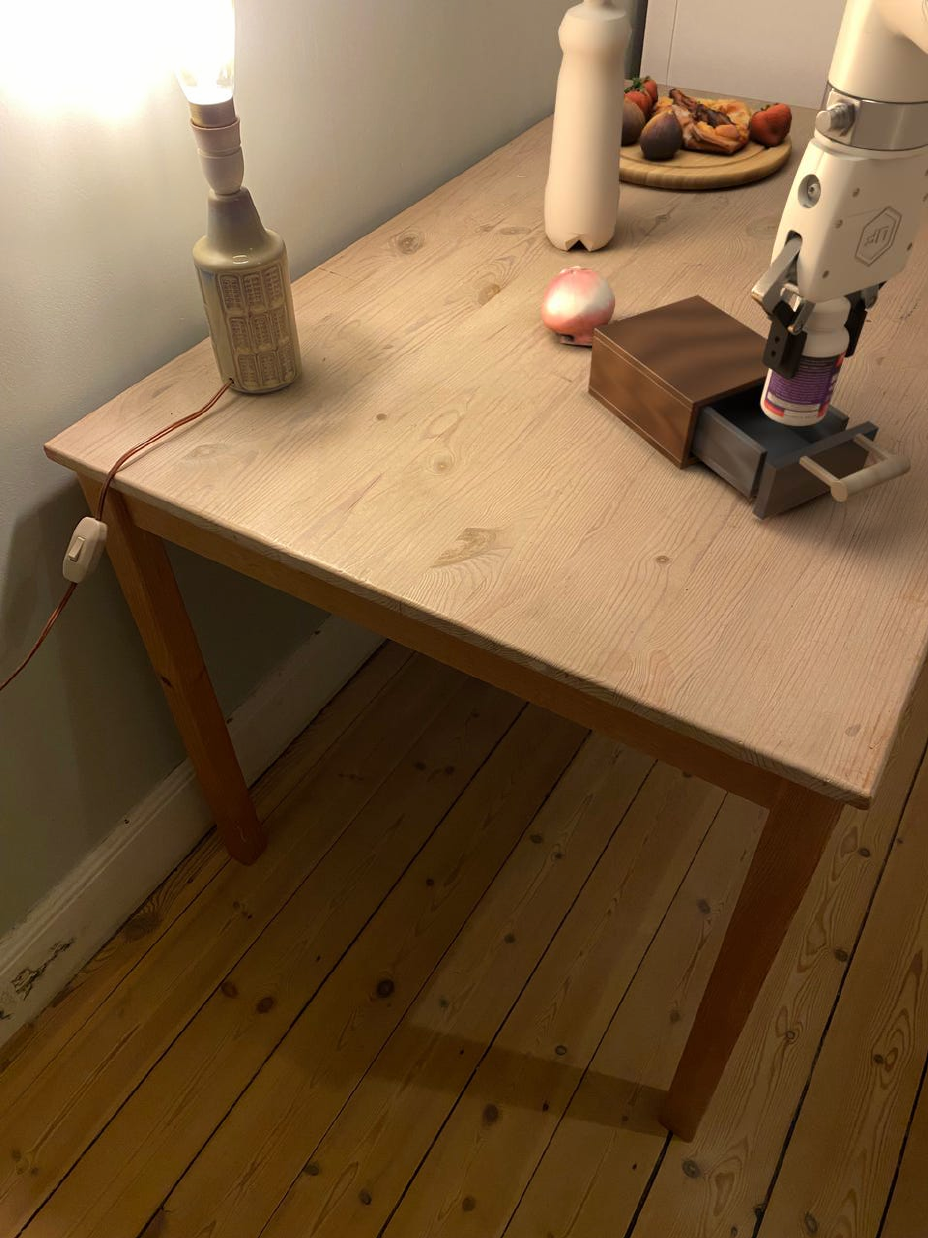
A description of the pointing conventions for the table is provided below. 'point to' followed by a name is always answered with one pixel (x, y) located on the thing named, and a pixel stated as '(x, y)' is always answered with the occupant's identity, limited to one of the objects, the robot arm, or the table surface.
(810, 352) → the pill bottle
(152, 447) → the table surface
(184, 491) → the table surface
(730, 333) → the cabinet
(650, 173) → the wooden plate
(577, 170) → the bottle
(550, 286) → the onion
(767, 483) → the drawer
